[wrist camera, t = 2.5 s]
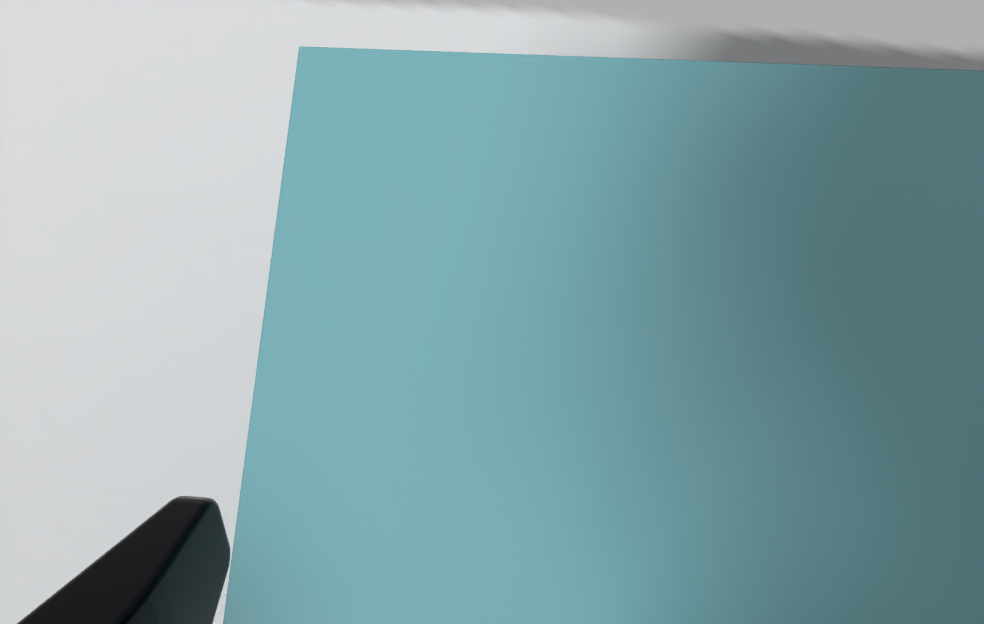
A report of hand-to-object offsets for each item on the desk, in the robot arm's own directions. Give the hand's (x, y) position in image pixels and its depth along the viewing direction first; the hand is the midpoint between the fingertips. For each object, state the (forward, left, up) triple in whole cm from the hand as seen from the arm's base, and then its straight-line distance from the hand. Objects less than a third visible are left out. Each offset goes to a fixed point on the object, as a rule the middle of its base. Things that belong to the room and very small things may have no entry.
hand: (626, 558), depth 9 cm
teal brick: (+1, +1, -9) cm, 9 cm away
